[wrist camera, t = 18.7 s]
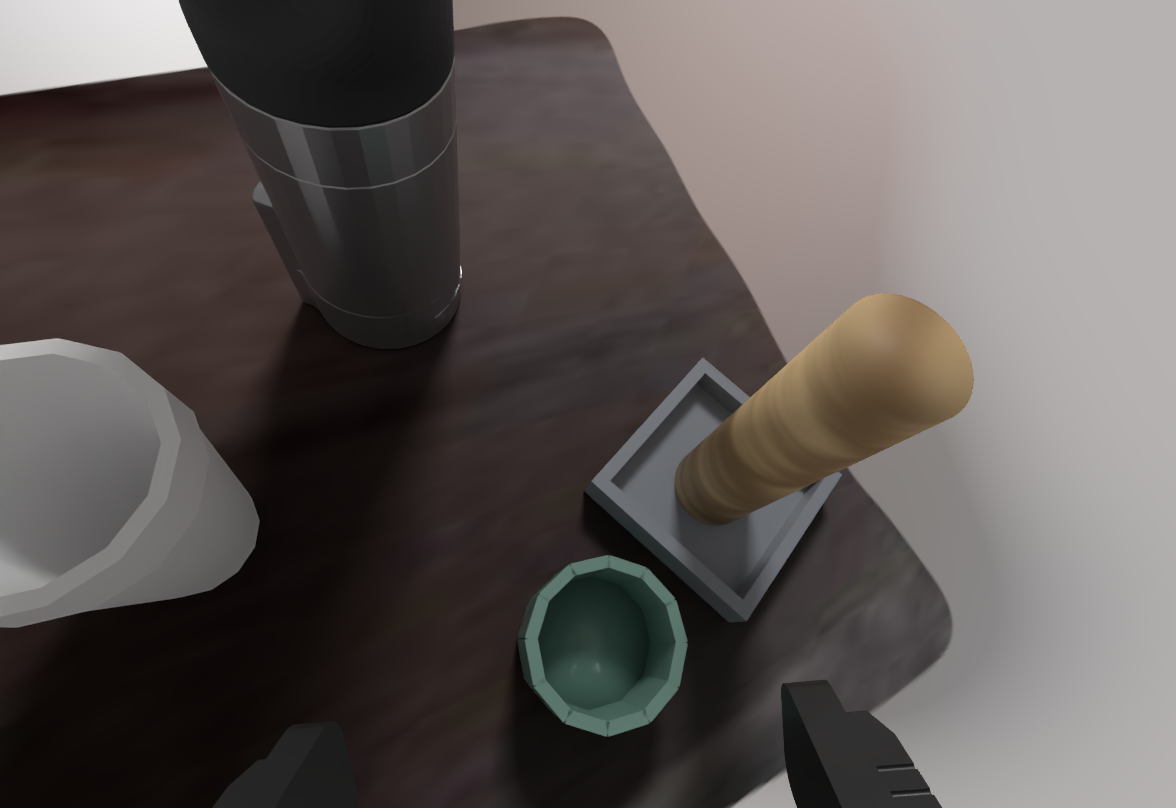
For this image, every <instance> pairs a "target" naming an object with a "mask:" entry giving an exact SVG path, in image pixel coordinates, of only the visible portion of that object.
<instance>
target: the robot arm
mask: <svg viewBox="0 0 1176 808" xmlns="http://www.w3.org/2000/svg"><path fill="white" fill-rule="evenodd" d="M179 3H180V6H181V9H182V11H183V14H184V16H185V19H186V21H187V23H188V26H189V28H190V30H191V32H192V34H193V37H194V39H195V41H196V43H197V45H198V47H199V50H200V52H201V54H202V56H203V58H204V60H205V62H206V64H207V66H208V68H209V70H210V72H211V75H212V77H213V79H214V81H215V83H216V85H217V88H218V90H219V92H220V94H221V96H222V98H223V101H224V103H225V105H226V107H227V109H228V112H229V114H230V116H231V118H232V120H233V122H234V124H235V126H236V128H237V130H238V133H239V135H240V137H241V139H242V141H243V143H244V146H245V148H246V150H247V152H248V154H249V156H250V159H251V161H252V163H253V165H254V167H255V169H256V172H257V174H258V176H259V178H260V181H259V183H258V184H257V185H256V187H255V188H254V190H253V193H252V199H253V202H254V204H255V206H256V208H257V210H258V212H259V214H260V216H261V218H262V220H263V222H264V224H265V226H266V228H267V230H268V232H269V234H270V236H271V238H272V240H273V242H274V244H275V246H276V248H277V250H278V252H279V254H280V256H281V258H282V260H283V262H284V264H285V266H286V268H287V270H288V272H289V274H290V276H291V278H292V280H293V282H294V284H295V286H296V288H297V290H298V292H299V294H300V296H301V298H302V301H303V302H305V303H307V304H310V305H313V306H315V307H316V308H318V309H319V311H320V312H321V313H322V315H323V316H324V318H325V320H326V321H327V323H328V324H329V325H330V326H331V327H332V328H333V329H334V330H335V331H337V332H338V333H339V334H340V335H342V336H344V337H345V338H347V339H349V340H350V341H352V342H355V343H358V344H361V345H363V346H366V347H372V348H378V349H399V348H404V347H409V346H414V345H416V344H419V343H421V342H424V341H426V340H428V339H430V338H431V337H433V336H434V335H436V334H437V333H439V332H440V331H441V330H442V329H443V328H444V327H445V326H446V325H447V324H448V323H449V322H450V321H451V319H452V317H453V316H454V314H455V313H456V311H457V308H458V305H459V302H460V296H461V266H460V225H459V191H458V157H457V123H456V93H455V59H454V52H455V51H454V27H453V2H452V0H179ZM781 700H782V717H783V735H784V753H785V763H786V769H787V774H788V779H789V783H790V787H791V791H792V794H793V797H794V800H795V803H796V805H797V808H942V807H941V805H940V804H939V802H938V801H937V799H936V797H935V796H934V795H932V794H931V792H930V788H929V786H928V785H927V783H926V782H925V780H924V779H923V777H922V776H921V774H920V772H919V771H918V770H917V769H915V767H914V763H913V762H912V760H911V758H910V757H909V756H908V754H907V752H906V751H905V749H904V748H903V746H902V744H901V743H900V741H899V740H898V738H897V737H896V735H895V734H894V733H893V732H892V731H891V730H889V729H888V728H887V727H886V726H885V725H883V724H882V723H881V722H880V721H879V720H877V719H876V718H875V717H874V716H872V715H871V714H870V713H869V712H868V711H855V712H845V710H844V708H843V707H842V705H841V703H840V701H839V699H838V698H837V696H836V694H835V692H834V691H833V689H832V687H831V685H830V684H829V683H828V681H826V680H817V681H805V682H794V683H783V684H782V687H781ZM212 808H357V788H356V784H355V780H354V776H353V772H352V768H351V764H350V760H349V756H348V752H347V748H346V745H345V741H344V737H343V733H342V729H341V727H340V725H339V724H338V723H337V722H336V721H328V722H317V723H305V724H295V725H292V726H290V727H289V728H288V729H287V730H286V731H285V733H284V734H283V735H282V737H281V738H280V740H279V741H278V742H277V744H276V745H275V747H274V748H273V750H272V751H271V752H270V754H269V755H268V757H267V758H266V759H263V760H257V761H256V762H255V763H254V764H253V765H252V766H251V767H250V768H248V769H247V770H246V771H245V772H244V773H243V774H242V775H240V776H239V777H238V778H237V779H236V780H235V781H234V782H233V783H231V784H230V785H229V786H228V787H227V789H226V790H225V791H224V793H223V794H222V795H221V797H220V798H219V799H218V801H217V802H216V803H215V805H214V806H213V807H212Z"/></svg>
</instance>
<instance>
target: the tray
mask: <svg viewBox="0 0 1176 808" xmlns="http://www.w3.org/2000/svg"><path fill="white" fill-rule="evenodd" d="M749 398H750V397H749V396H748V395H746V394H745V393H744V392H743V391H742V390H741V389H739V388H738V387H737V386H736V385H735V384H733V383H732V382H731V381H730V380H729V379H727V378H726V377H725V376H724V375H723V374H722V373H720V372H719V371H718V370H717V369H716V368H714V367H713V366H712V365H711V364H710V363H708V362H707V361H706V360H705V359H704V358H702V359H701V360H700V361H699V362H698V363H697V364H696V366H695V367H694V368H693V369H692V370H691V371H690V372H689V373H688V374H687V376H686V377H685V378H684V379H683V380H682V381H681V382H680V383H679V384H678V386H677V387H676V388H675V389H674V390H673V391H672V392H671V393H670V394H669V396H668V397H667V398H666V399H665V400H664V401H663V402H662V403H661V404H660V406H659V407H658V408H657V409H656V410H655V411H654V412H653V413H652V414H651V416H650V417H649V418H648V419H647V420H646V421H645V422H644V423H643V424H642V426H641V427H640V428H639V429H638V430H637V431H636V432H635V433H634V434H633V436H632V437H631V438H630V439H629V440H628V441H627V442H626V443H625V444H624V446H623V447H622V448H621V449H620V450H619V451H618V452H617V453H616V454H615V456H614V457H613V458H612V459H611V460H610V461H609V462H608V463H607V464H606V466H605V467H604V468H603V469H602V470H601V471H600V472H599V473H598V474H597V476H596V477H595V478H594V479H593V480H592V481H591V482H590V484H589V485H588V486H587V488H586V489H585V490H584V492H586V493H587V494H588V495H589V496H590V497H591V498H592V499H593V500H594V501H595V502H597V503H598V504H599V505H600V506H601V507H602V508H603V509H604V510H605V511H607V512H608V513H609V514H610V515H611V516H612V517H613V518H614V519H615V520H616V521H618V522H619V523H620V524H621V525H622V526H623V527H624V528H625V529H626V530H627V531H629V532H630V533H631V534H632V535H633V536H634V537H635V538H636V539H637V540H638V541H640V542H641V543H642V544H643V545H644V546H645V547H646V548H647V549H648V550H649V551H651V552H652V553H653V554H654V555H655V556H656V557H657V558H658V559H659V560H660V561H662V562H663V563H664V564H665V565H666V566H667V567H668V568H669V569H670V570H672V571H673V572H674V573H675V574H676V575H677V576H678V577H679V578H680V579H681V580H683V581H684V582H685V583H686V584H687V585H688V586H689V587H690V588H691V589H692V590H694V591H695V592H696V593H697V594H698V595H699V596H700V597H701V598H702V599H703V600H705V601H706V602H707V603H708V604H709V605H710V606H711V607H712V608H713V609H714V610H716V611H717V612H718V613H719V614H720V615H721V616H722V617H723V618H724V619H725V620H727V621H728V622H744V621H747V620H748V618H749V617H750V615H751V614H752V612H753V611H754V609H755V608H756V606H757V605H758V603H759V601H760V600H761V598H762V597H763V595H764V594H765V592H766V591H767V589H768V588H769V586H770V585H771V583H772V581H773V580H774V578H775V577H776V575H777V574H778V572H779V571H780V569H781V568H782V566H783V565H784V563H785V561H786V560H787V558H788V557H789V555H790V554H791V552H792V551H793V549H794V548H795V546H796V545H797V543H798V541H799V540H800V538H801V537H802V535H803V534H804V532H805V531H806V529H807V528H808V526H809V525H810V523H811V521H812V520H813V518H814V517H815V515H816V514H817V512H818V511H819V509H820V508H821V506H822V505H823V503H824V501H825V500H826V498H827V497H828V495H829V494H830V492H831V491H832V489H833V488H834V486H835V485H836V483H837V481H838V480H839V478H840V477H841V475H842V474H840V473H839V472H836V473H834V474H832V475H830V476H828V477H825V478H823V479H821V480H819V481H817V482H815V483H813V484H811V485H809V486H807V487H804V488H802V489H800V490H798V491H796V492H794V493H792V494H790V495H788V496H786V497H783V498H781V499H779V500H777V501H775V502H773V503H771V504H769V505H767V506H764V507H762V508H760V509H758V510H756V511H754V512H752V513H750V514H748V515H746V516H743V517H741V518H739V519H737V520H735V521H733V522H731V523H728V524H725V525H709V524H705V523H703V522H700V521H698V520H697V519H695V518H694V517H692V516H691V515H690V514H689V513H688V512H687V511H686V510H685V509H684V508H683V506H682V505H681V503H680V501H679V499H678V497H677V494H676V490H675V473H676V470H677V467H678V465H679V463H680V462H681V460H682V459H683V458H684V457H685V456H686V455H687V454H689V453H690V452H691V451H692V450H693V449H694V448H695V447H696V446H697V445H698V444H700V443H701V442H702V441H703V440H704V439H705V438H706V437H707V436H708V435H710V434H711V433H712V432H713V431H714V430H715V429H716V428H717V427H718V426H719V425H721V424H722V423H723V422H724V421H725V420H726V419H727V418H728V417H729V416H731V415H732V414H733V413H734V412H735V411H736V410H737V409H738V408H739V407H741V406H742V405H743V404H744V403H745V402H746V401H747V400H748V399H749Z"/></svg>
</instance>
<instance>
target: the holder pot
mask: <svg viewBox="0 0 1176 808" xmlns="http://www.w3.org/2000/svg"><path fill="white" fill-rule="evenodd" d="M674 599H675V597H674V596H673V595H672V594H671V593H670V592H669V591H668V590H667V589H666V588H665V586H664V585H663V584H662V583H661V582H660V581H659V580H658V579H657V578H656V577H655V576H654V574H653V573H652V572H651V571H650V570H649V569H648V568H647V569H646V567H644V566H641V565H638V564H635V563H632V562H629V561H626V560H623V559H620V558H617V557H614V556H611V555H609V556H608V555H606V556H602V557H597V558H593V559H589V560H585V561H580V562H576V563H572V564H569V565H568V566H566V567H565V568H564V569H562V570H561V571H560V572H558V573H557V574H556V575H554V576H553V577H552V578H551V579H550V580H549V581H548V582H547V583H546V584H545V585H544V586H543V587H542V588H541V589H540V590H539V591H538V592H537V593H536V594H535V595H534V596H533V597H532V598H531V599H530V600H529V601H528V604H527V607H526V611H525V614H524V617H523V620H522V623H521V627H520V630H519V633H518V636H517V638H519V639H517V643H518V649H519V654H520V660H521V665H522V671H523V676H524V679H525V681H526V682H527V684H528V685H529V686H530V687H531V688H532V690H533V691H534V692H535V693H536V694H537V696H538V697H539V698H540V699H541V700H542V702H543V703H544V704H545V705H546V706H547V708H548V709H549V710H550V711H551V712H552V713H553V714H554V715H556V716H557V717H558V718H559V719H560V720H561V721H562V722H563V723H565V724H567V725H570V726H574V727H577V728H580V729H583V730H587V731H590V732H593V733H596V734H599V735H603V736H606V737H607V736H608V737H609V736H612V735H616V734H619V733H622V732H625V731H628V730H631V729H634V728H637V727H641V726H644V725H647V724H649V722H650V723H651V722H652V721H653V719H654V718H655V717H656V716H657V715H658V713H659V712H660V711H661V710H662V708H663V707H664V706H665V705H666V704H667V702H668V701H669V700H670V699H671V698H672V696H673V695H674V694H675V693H676V691H677V690H678V688H677V687H680V682H681V676H682V671H683V666H684V661H685V656H686V650H687V645H688V643H685V642H688V641H687V637H686V634H685V630H684V626H683V623H682V619H681V615H680V612H679V608H678V605H677V601H676V600H674ZM673 600H674V601H673Z"/></svg>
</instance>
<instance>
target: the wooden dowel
mask: <svg viewBox="0 0 1176 808" xmlns="http://www.w3.org/2000/svg"><path fill="white" fill-rule="evenodd" d="M973 381H974V378H973V369H972V363H971V360H970V357H969V354H968V352H967V350H966V348H965V346H964V344H963V342H962V340H961V339H960V337H959V336H958V335H957V333H956V332H955V330H954V329H953V328H952V327H951V326H950V325H949V324H948V323H947V322H946V321H945V320H944V319H943V318H942V317H941V316H940V315H939V314H937V313H936V312H935V311H933V310H932V309H930V308H929V307H927V306H926V305H924V304H922V303H920V302H918V301H916V300H914V299H911V298H908V297H905V296H902V295H896V294H887V293H886V294H885V293H884V294H875V295H870V296H867V297H865V298H863V299H860V300H859V301H857V302H856V303H855V304H853V305H852V306H851V307H850V308H849V309H848V310H847V311H846V312H844V313H843V314H842V315H841V316H840V317H839V318H838V319H837V320H836V321H835V322H834V323H832V324H831V325H830V326H829V327H828V328H827V329H826V330H825V331H823V332H822V333H821V334H820V335H819V336H818V337H817V338H816V339H815V340H813V341H812V342H811V343H810V344H809V345H808V346H807V347H806V348H805V349H804V350H802V351H801V352H800V353H799V354H798V355H797V356H796V357H795V358H794V359H793V360H792V361H790V362H789V363H788V364H787V365H786V366H785V367H784V368H783V369H781V370H780V371H779V372H778V373H777V374H776V375H775V376H774V377H773V378H771V379H770V380H769V381H768V382H767V383H766V384H765V385H764V386H763V387H762V388H760V389H759V390H758V391H757V392H756V393H755V394H754V395H753V396H752V397H750V398H749V399H748V400H747V401H746V402H745V403H744V404H743V405H742V406H741V407H739V408H738V409H737V410H736V411H735V412H734V413H733V414H732V415H731V416H729V417H728V418H727V419H726V420H725V421H724V422H723V423H722V424H721V425H719V426H718V427H717V428H716V429H715V430H714V431H713V432H712V433H711V434H710V435H708V436H707V437H706V438H705V439H704V440H703V441H702V442H701V443H700V444H698V445H697V446H696V447H695V448H694V449H693V450H692V451H691V452H690V453H689V454H687V455H686V456H685V457H684V458H683V459H682V460H681V462H680V463H679V465H678V467H677V470H676V473H675V490H676V494H677V497H678V499H679V501H680V503H681V505H682V506H683V508H684V509H685V510H686V511H687V512H688V513H689V514H690V515H691V516H692V517H694V518H695V519H697V520H698V521H700V522H703V523H705V524H709V525H725V524H728V523H731V522H733V521H735V520H737V519H739V518H741V517H743V516H746V515H748V514H750V513H752V512H754V511H756V510H758V509H760V508H762V507H764V506H767V505H769V504H771V503H773V502H775V501H777V500H779V499H781V498H783V497H786V496H788V495H790V494H792V493H794V492H796V491H798V490H800V489H802V488H804V487H807V486H809V485H811V484H813V483H815V482H817V481H819V480H821V479H823V478H825V477H828V476H830V475H832V474H834V473H836V472H838V471H840V470H842V469H844V468H847V467H849V466H851V465H853V464H855V463H857V462H859V461H861V460H863V459H865V458H868V457H870V456H872V455H874V454H876V453H878V452H880V451H882V450H884V449H886V448H889V447H891V446H893V445H895V444H897V443H899V442H901V441H903V440H905V439H908V438H910V437H912V436H913V435H916V434H918V433H920V432H922V431H924V430H926V429H928V428H930V427H933V426H935V425H937V424H939V423H941V422H943V421H945V420H947V419H949V418H952V417H954V416H955V415H956V414H958V413H959V412H960V411H961V410H962V409H963V408H964V407H965V406H966V404H967V403H968V401H969V399H970V396H971V393H972V389H973Z"/></svg>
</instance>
